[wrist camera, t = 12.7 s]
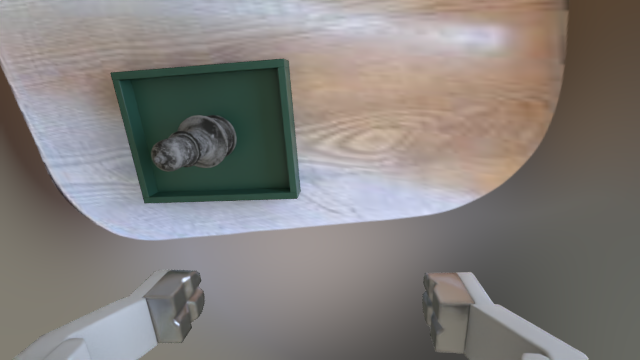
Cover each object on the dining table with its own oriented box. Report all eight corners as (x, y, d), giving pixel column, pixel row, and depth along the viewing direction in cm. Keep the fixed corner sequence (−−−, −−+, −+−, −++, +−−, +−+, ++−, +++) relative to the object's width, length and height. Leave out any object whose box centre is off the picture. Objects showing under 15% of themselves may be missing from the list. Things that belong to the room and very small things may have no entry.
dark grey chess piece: (195, 159, 37) (127, 192, 26) (189, 111, 35) (114, 124, 24) (240, 161, 37) (192, 195, 25) (237, 112, 35) (183, 126, 24)
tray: (126, 73, 35) (110, 72, 33) (288, 60, 33) (283, 58, 31) (156, 196, 40) (144, 203, 38) (300, 191, 38) (297, 198, 35)
